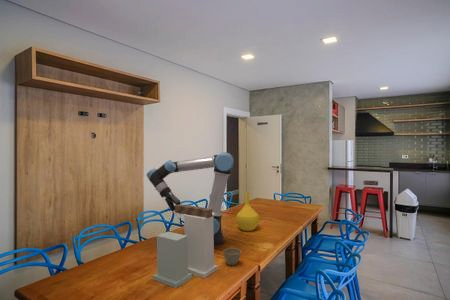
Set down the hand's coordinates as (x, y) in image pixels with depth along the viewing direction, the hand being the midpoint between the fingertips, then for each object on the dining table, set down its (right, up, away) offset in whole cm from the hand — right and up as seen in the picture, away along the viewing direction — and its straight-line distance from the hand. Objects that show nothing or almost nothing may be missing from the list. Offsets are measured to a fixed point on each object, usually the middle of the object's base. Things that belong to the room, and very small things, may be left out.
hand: (182, 215), depth 173 cm
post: (+1, -23, -37) cm, 44 cm away
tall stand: (+14, -23, -28) cm, 39 cm away
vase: (+46, -22, +43) cm, 67 cm away
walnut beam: (+10, +7, -26) cm, 29 cm away
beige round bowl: (+32, -23, -21) cm, 44 cm away
